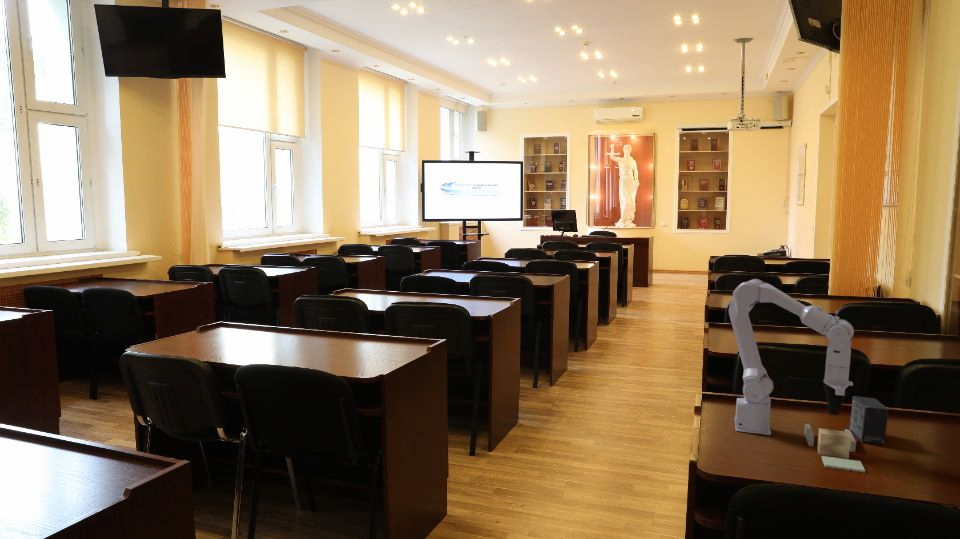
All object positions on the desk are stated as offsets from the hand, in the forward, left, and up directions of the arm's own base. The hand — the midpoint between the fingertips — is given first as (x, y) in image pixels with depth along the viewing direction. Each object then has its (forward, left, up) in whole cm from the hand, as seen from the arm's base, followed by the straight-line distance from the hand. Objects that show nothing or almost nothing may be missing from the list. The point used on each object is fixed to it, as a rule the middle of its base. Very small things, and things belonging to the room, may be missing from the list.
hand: (833, 413), depth 181 cm
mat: (+1, -13, -9) cm, 16 cm away
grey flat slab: (0, +3, -9) cm, 10 cm away
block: (0, -6, -10) cm, 11 cm away
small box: (+11, +12, -10) cm, 19 cm away
